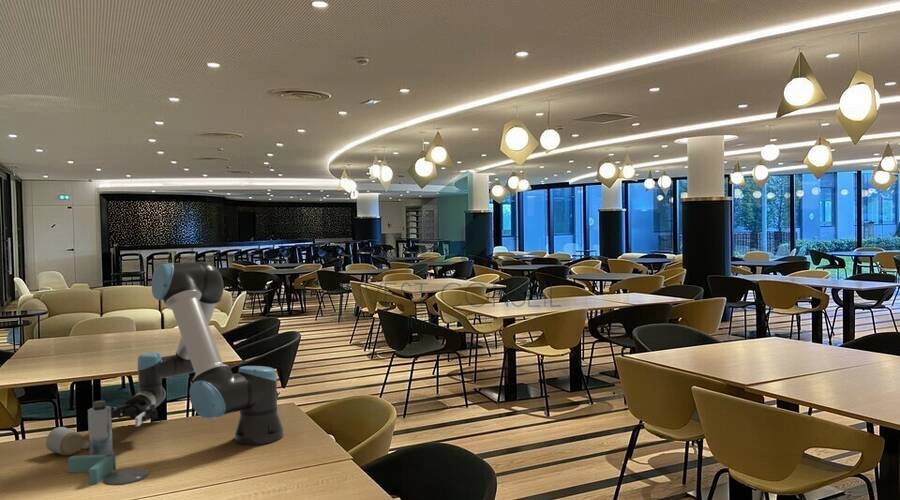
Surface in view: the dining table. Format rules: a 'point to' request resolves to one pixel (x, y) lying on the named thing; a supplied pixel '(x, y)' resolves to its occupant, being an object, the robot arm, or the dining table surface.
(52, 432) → the ceramic mug
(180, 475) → the dining table surface
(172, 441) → the dining table surface
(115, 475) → the coaster
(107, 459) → the bent rail
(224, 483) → the dining table surface
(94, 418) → the bottle
